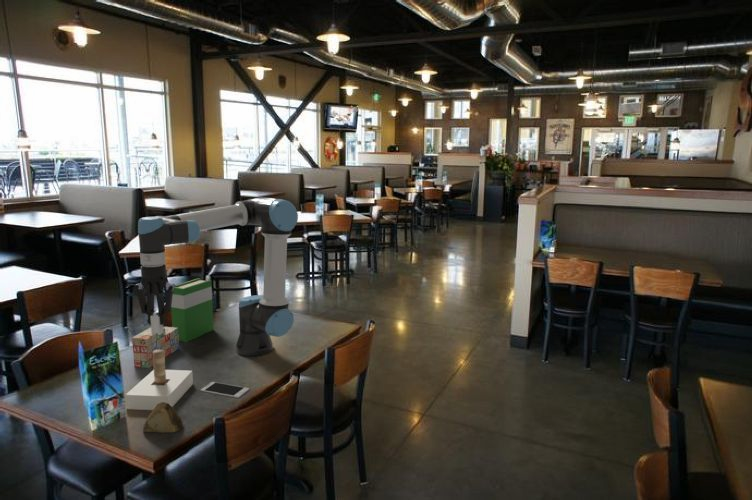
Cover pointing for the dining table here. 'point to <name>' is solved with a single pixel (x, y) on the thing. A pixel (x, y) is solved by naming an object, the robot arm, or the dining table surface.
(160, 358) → the beech peg
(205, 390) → the smartphone
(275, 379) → the dining table surface
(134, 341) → the stack of blocks
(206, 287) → the hardback book
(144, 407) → the hole board
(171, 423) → the rock
